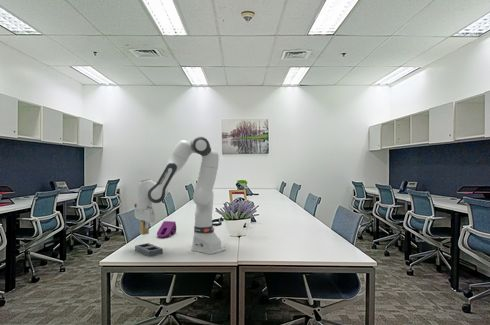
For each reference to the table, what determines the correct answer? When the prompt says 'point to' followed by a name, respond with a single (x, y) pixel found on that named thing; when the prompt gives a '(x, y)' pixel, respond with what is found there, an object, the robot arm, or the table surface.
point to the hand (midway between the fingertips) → (144, 227)
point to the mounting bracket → (166, 229)
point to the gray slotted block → (148, 249)
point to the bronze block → (143, 228)
